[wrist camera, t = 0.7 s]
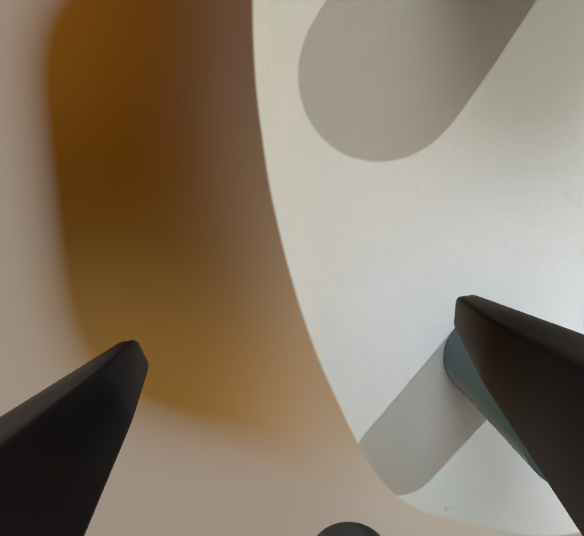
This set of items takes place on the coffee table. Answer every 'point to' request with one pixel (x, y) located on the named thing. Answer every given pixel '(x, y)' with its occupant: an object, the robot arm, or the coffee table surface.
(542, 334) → the robot arm
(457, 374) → the bottle
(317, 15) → the coffee table surface
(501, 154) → the coffee table surface
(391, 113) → the coffee table surface
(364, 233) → the coffee table surface
